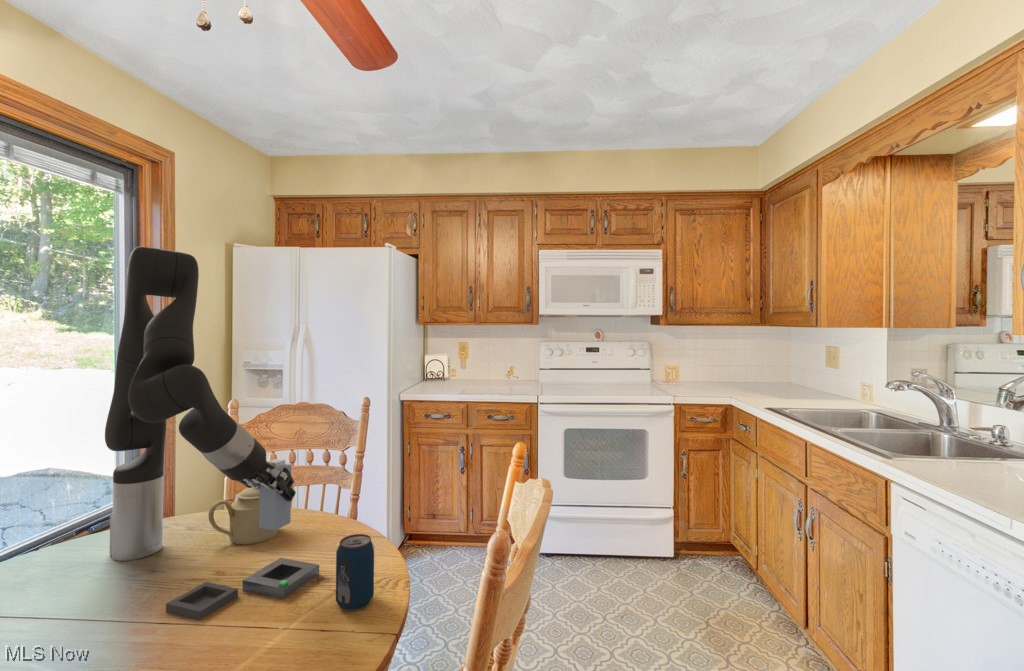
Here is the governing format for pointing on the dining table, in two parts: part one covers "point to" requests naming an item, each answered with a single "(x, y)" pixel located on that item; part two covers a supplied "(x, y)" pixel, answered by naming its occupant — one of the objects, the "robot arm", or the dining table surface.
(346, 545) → the soda can
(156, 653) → the dining table surface
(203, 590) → the holster
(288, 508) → the plug
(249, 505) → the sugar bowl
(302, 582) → the port
